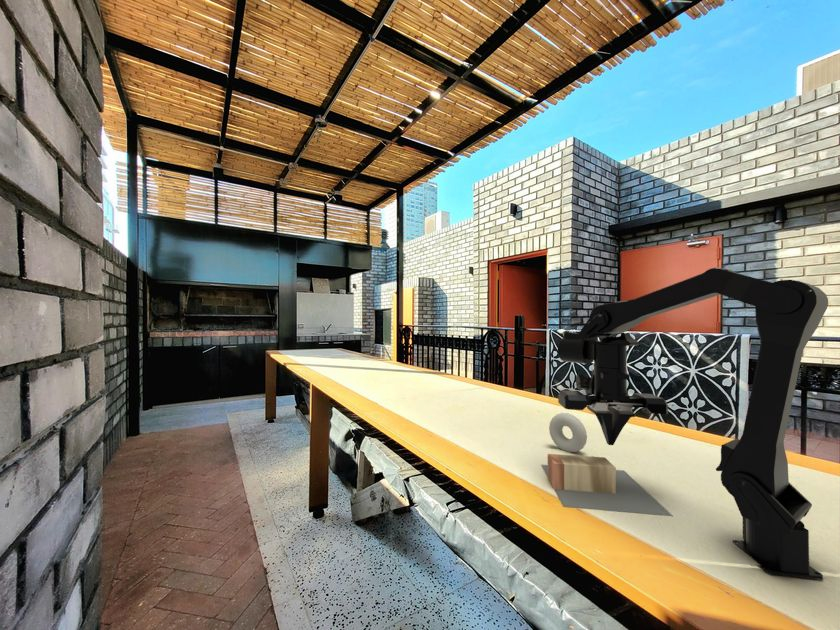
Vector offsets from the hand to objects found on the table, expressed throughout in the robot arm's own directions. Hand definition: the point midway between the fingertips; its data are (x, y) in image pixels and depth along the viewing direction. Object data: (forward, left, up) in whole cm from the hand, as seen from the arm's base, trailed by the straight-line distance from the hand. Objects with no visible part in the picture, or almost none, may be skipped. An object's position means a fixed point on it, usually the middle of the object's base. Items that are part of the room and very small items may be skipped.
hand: (610, 444), depth 67 cm
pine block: (0, 0, -6) cm, 6 cm away
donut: (+20, +2, -9) cm, 22 cm away
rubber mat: (0, +2, -9) cm, 9 cm away
